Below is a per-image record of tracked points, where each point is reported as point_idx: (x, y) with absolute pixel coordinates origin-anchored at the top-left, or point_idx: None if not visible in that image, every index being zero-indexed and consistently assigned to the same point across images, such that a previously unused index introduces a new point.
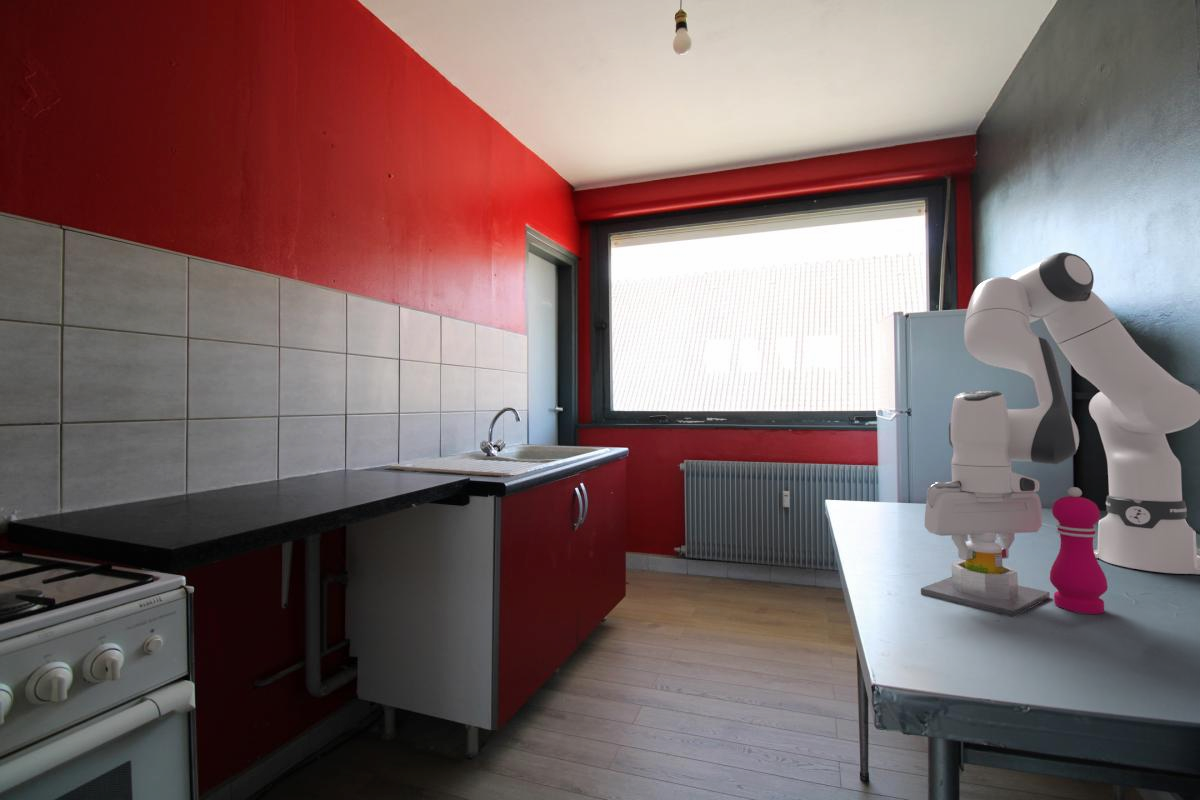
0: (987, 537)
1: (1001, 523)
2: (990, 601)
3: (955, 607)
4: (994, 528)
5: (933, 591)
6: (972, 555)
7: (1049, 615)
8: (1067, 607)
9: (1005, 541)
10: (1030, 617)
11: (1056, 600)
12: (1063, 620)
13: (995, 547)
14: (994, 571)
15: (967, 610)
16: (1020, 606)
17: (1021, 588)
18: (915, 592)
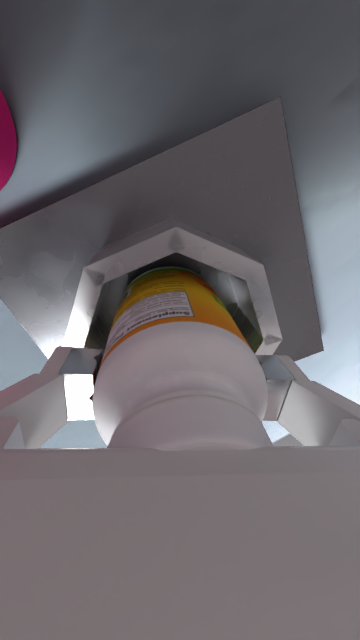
0: (237, 413)
1: (58, 572)
2: (255, 210)
3: (339, 235)
4: (176, 491)
5: (318, 324)
6: (264, 362)
7: (129, 82)
8: (6, 106)
9: (24, 420)
10: (215, 85)
11: (6, 160)
12: (125, 10)
13: (185, 346)
14: (188, 287)
15: (335, 205)
16: (209, 133)
17: (35, 298)
18: (314, 354)
